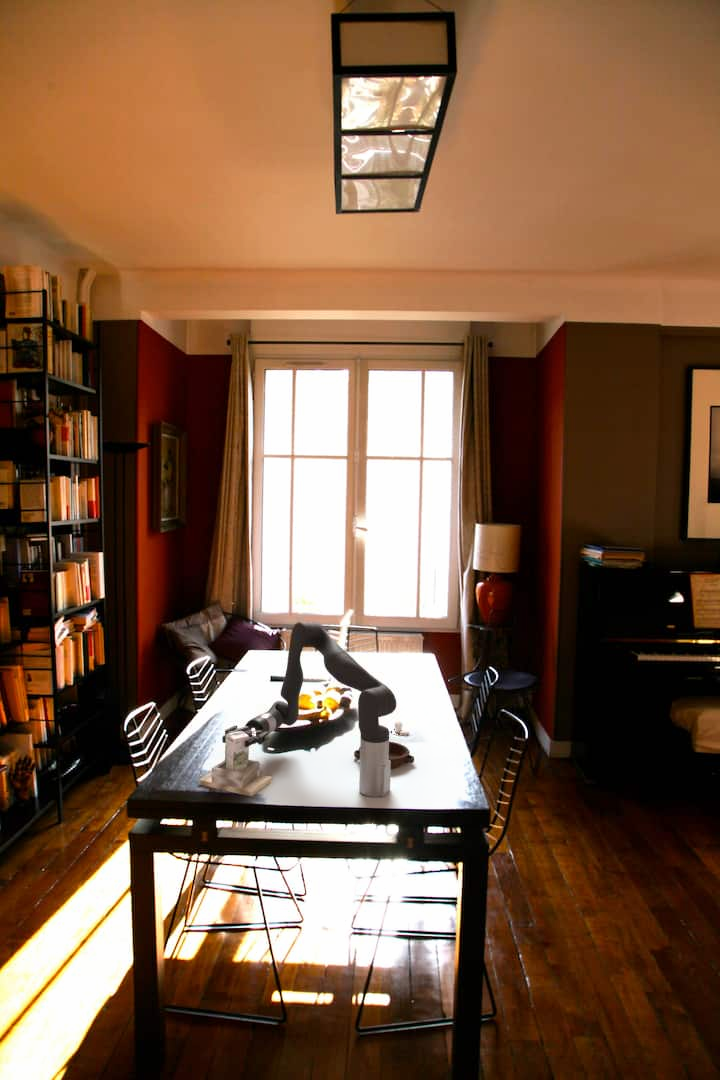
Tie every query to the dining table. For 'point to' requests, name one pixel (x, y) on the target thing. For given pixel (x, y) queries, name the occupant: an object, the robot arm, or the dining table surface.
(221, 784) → the collar board
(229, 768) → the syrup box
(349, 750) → the dining table surface
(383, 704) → the robot arm
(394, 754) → the dish
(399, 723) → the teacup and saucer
